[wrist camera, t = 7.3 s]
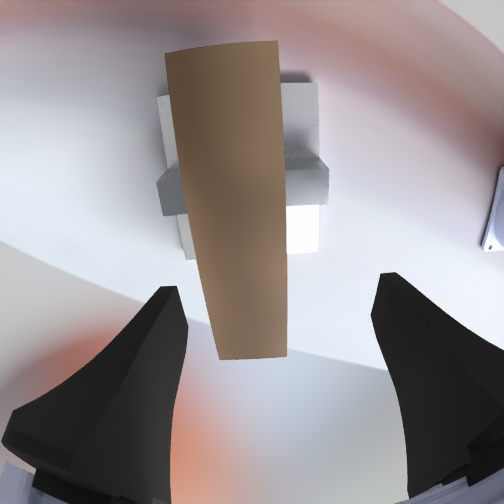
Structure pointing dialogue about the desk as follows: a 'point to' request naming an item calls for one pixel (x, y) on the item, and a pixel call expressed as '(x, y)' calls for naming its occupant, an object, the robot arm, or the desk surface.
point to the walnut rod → (235, 189)
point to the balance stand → (296, 169)
